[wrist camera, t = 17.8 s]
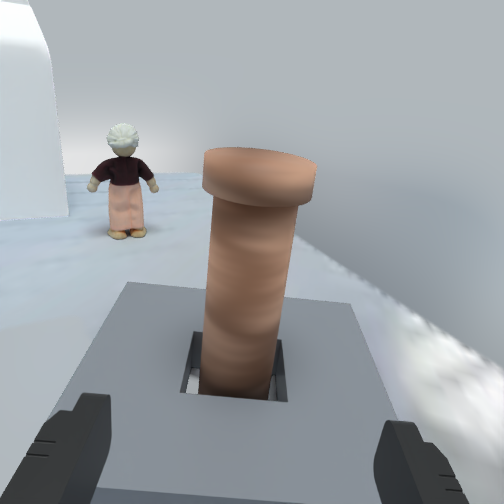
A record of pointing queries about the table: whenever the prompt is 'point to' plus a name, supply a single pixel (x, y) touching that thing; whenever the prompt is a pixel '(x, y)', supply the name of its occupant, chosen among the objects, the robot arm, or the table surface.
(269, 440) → the socket block
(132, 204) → the grandmother figurine
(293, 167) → the headed peg
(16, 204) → the milk
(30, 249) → the table surface
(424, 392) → the table surface
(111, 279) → the table surface
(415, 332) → the table surface
